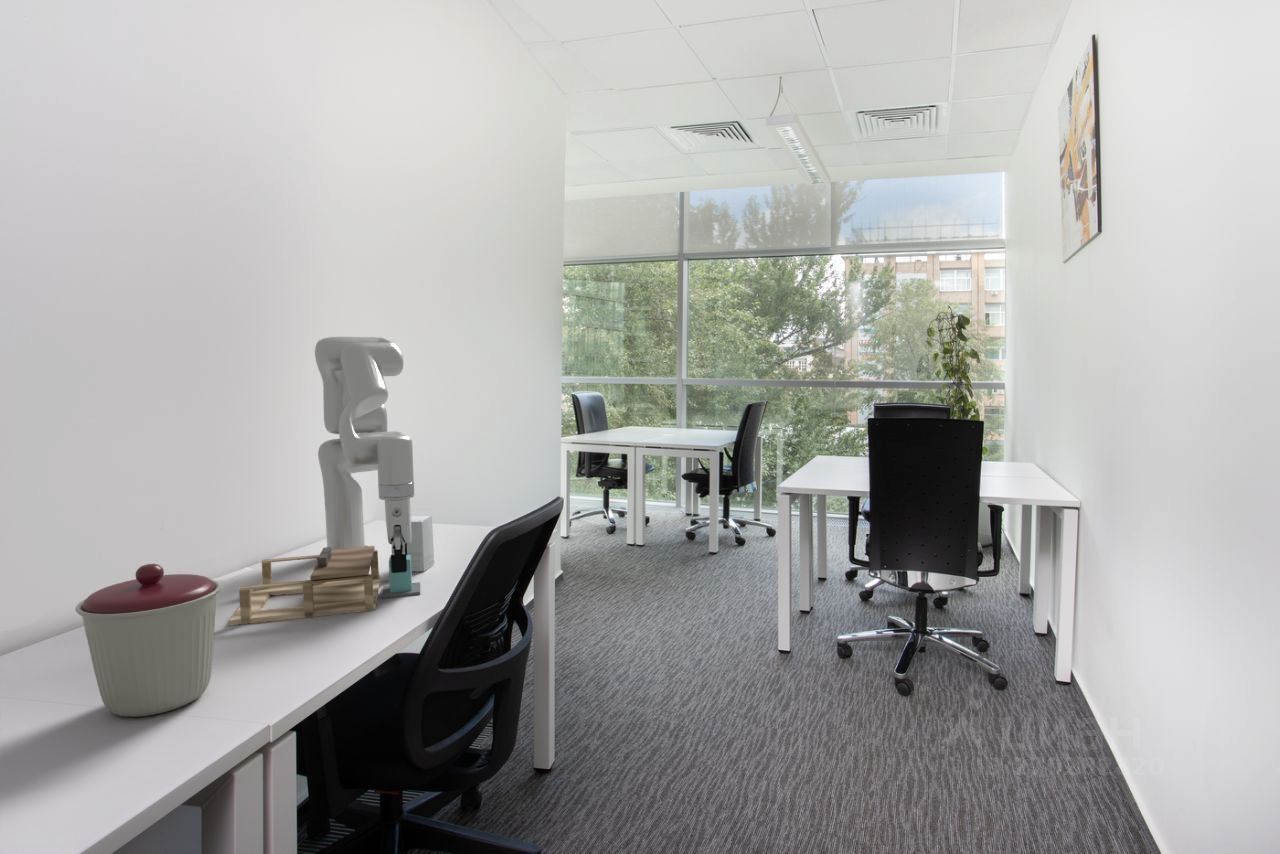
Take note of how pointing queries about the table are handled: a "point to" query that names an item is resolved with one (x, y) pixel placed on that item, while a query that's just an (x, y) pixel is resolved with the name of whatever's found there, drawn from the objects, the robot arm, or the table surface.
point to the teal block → (401, 578)
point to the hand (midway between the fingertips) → (399, 566)
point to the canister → (151, 640)
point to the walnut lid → (343, 562)
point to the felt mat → (414, 591)
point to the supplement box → (421, 543)
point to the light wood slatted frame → (308, 595)
